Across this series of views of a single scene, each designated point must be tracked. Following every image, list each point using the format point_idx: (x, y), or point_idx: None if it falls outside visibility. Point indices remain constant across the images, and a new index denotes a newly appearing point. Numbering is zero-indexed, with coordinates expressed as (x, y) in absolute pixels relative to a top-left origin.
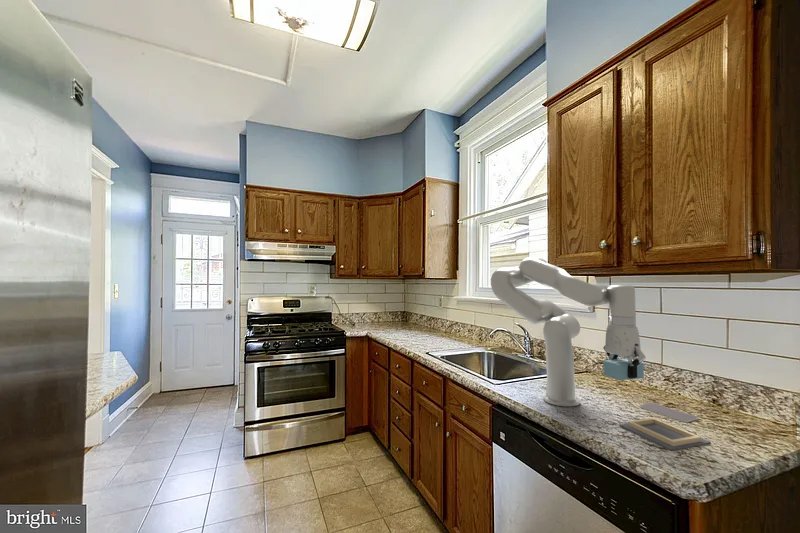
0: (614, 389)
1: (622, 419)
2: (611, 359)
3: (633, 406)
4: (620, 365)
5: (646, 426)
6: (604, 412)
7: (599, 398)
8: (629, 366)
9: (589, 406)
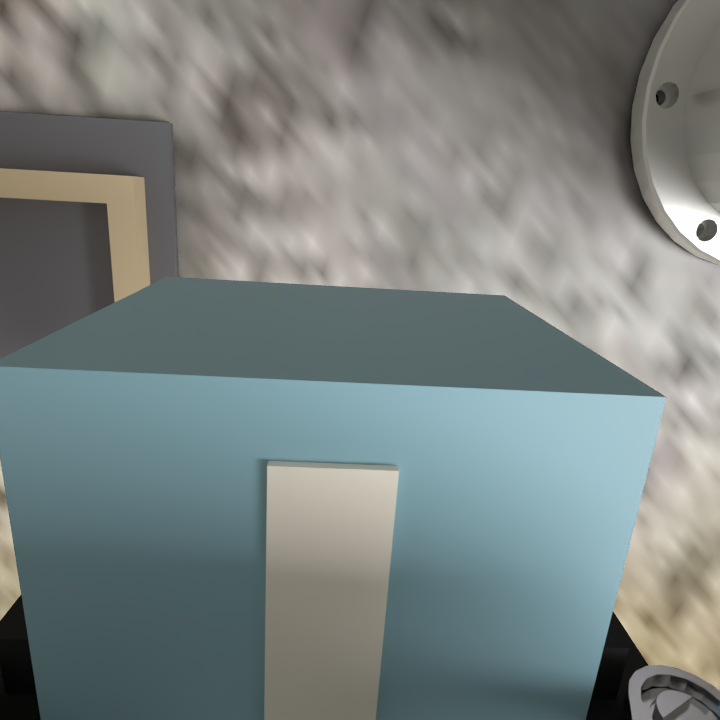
0: (712, 682)
1: (277, 266)
2: (631, 697)
3: None
4: (9, 423)
5: (93, 291)
6: (431, 254)
7: (651, 457)
8: (8, 641)
9: (573, 246)
